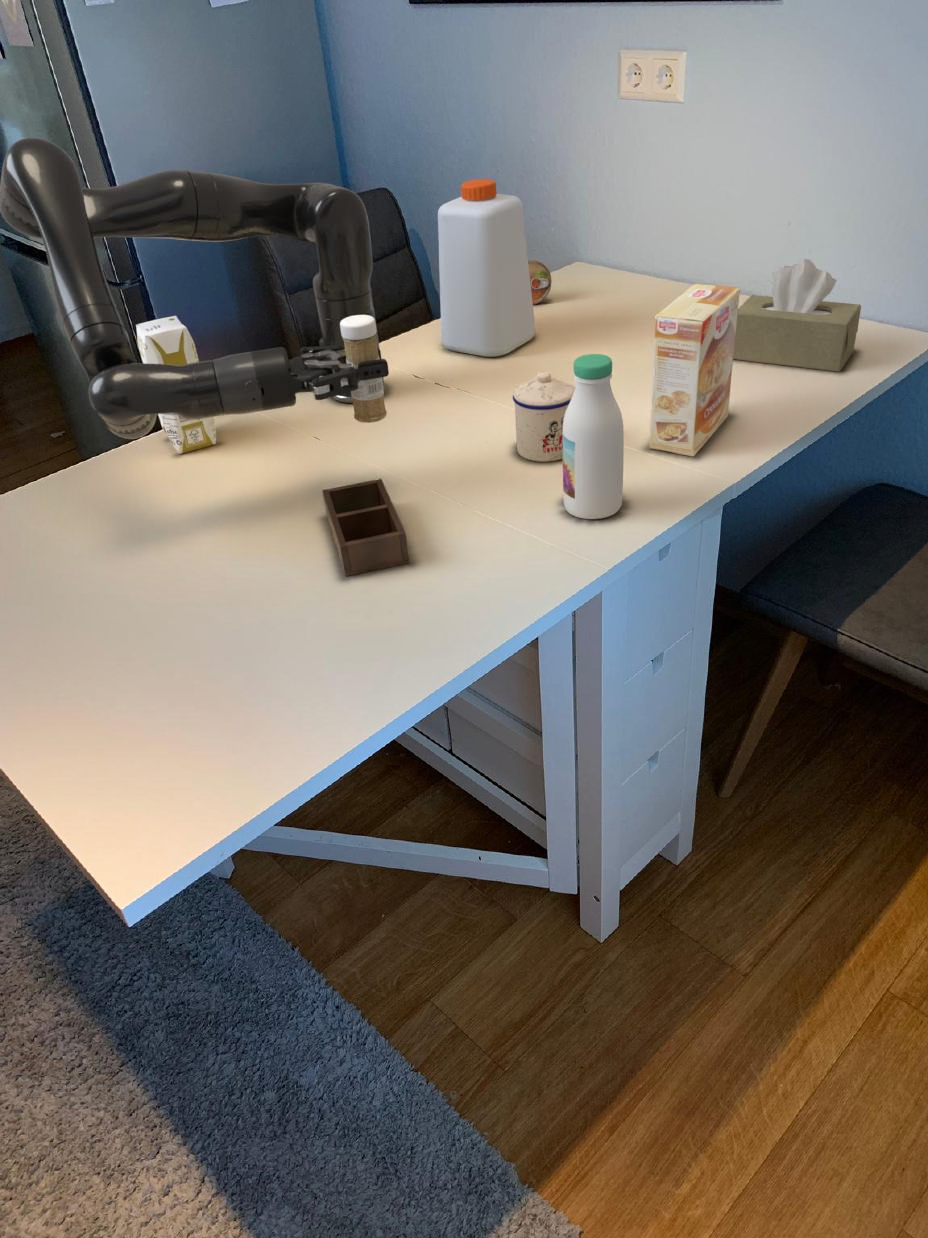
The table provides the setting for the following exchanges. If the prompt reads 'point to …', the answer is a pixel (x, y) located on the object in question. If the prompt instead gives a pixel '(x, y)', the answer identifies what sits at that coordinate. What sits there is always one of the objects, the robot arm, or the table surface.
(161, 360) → the juice carton
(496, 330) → the plastic bottle
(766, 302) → the tissue box
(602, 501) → the milk bottle
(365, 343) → the sprinkles bottle
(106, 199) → the robot arm
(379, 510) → the holder
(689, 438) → the coffeecake box
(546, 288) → the tin
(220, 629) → the table surface
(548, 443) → the teacup with lid
